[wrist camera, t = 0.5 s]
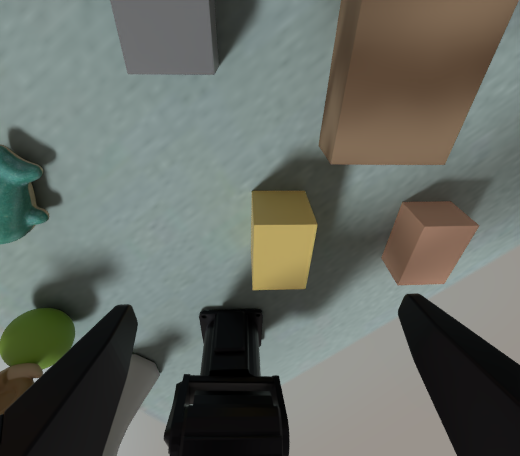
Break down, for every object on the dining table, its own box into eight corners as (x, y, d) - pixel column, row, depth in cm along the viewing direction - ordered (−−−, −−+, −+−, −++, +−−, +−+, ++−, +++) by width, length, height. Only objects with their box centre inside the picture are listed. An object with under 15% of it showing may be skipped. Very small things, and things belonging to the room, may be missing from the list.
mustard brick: (296, 249, 25) (305, 289, 21) (251, 250, 24) (252, 290, 21) (304, 189, 21) (317, 224, 17) (251, 190, 21) (253, 224, 17)
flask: (138, 346, 32) (104, 454, 24) (170, 374, 36) (150, 474, 28) (85, 360, 33) (35, 468, 25) (122, 385, 37) (90, 485, 29)
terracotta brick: (422, 255, 26) (444, 283, 23) (380, 256, 26) (397, 285, 23) (449, 200, 22) (479, 225, 20) (401, 200, 22) (424, 226, 19)
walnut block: (415, 144, 20) (444, 164, 17) (317, 143, 19) (330, 164, 16) (478, -29, 14) (537, -42, 11) (344, -35, 14) (371, -50, 11)
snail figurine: (1, 303, 26) (-137, 464, 17) (63, 291, 26) (-42, 450, 16) (39, 334, 30) (-58, 484, 20) (95, 324, 29) (23, 473, 19)
